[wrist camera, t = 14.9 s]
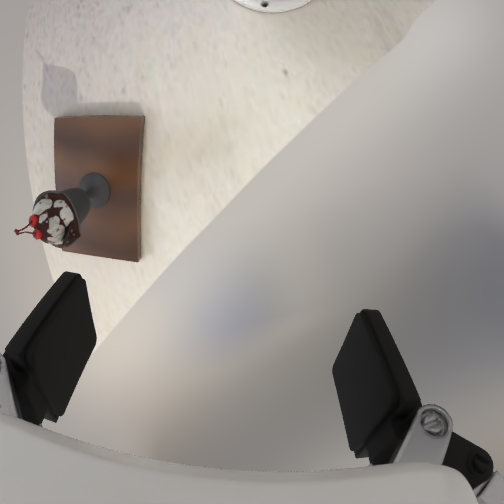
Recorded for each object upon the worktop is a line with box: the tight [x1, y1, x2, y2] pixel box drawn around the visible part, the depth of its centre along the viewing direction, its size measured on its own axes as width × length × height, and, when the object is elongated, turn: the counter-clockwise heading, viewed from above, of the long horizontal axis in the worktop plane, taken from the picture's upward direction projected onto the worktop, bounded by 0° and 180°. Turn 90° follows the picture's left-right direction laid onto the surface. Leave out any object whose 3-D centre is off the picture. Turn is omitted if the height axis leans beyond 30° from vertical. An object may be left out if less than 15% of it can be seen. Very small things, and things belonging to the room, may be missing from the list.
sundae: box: [15, 173, 110, 250], centre depth 30 cm, size 7×7×15 cm
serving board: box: [54, 115, 145, 262], centre depth 38 cm, size 20×13×2 cm, turn 172°
